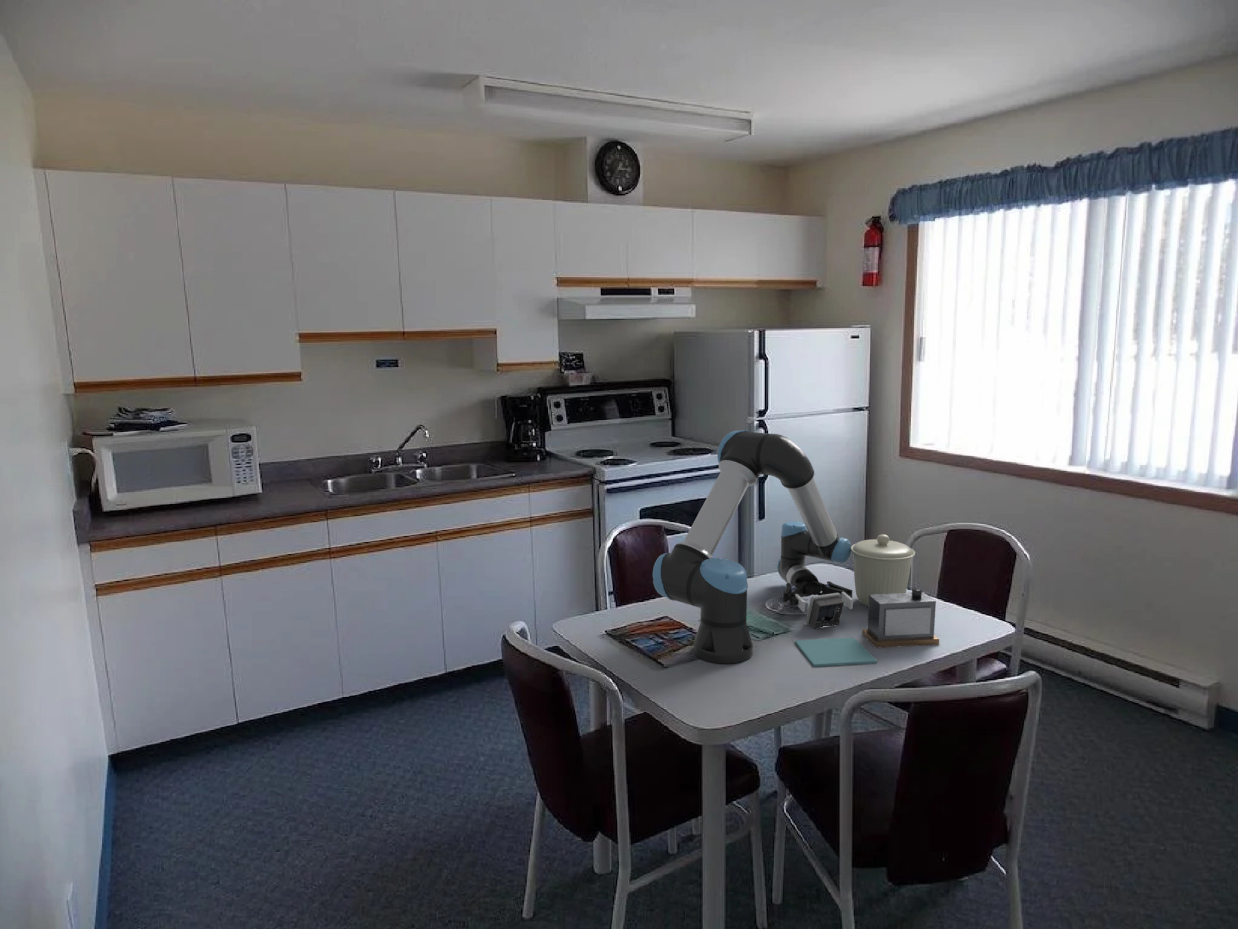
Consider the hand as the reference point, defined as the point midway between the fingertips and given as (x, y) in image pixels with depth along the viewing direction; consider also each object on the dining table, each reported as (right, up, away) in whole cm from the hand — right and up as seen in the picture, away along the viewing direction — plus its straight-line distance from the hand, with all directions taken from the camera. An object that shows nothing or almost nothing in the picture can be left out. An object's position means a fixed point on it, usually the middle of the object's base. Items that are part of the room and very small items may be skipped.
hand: (827, 605), depth 221 cm
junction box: (+17, -7, -9) cm, 20 cm away
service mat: (-3, -9, -17) cm, 19 cm away
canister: (+20, -3, +18) cm, 27 cm away
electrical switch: (0, -6, +1) cm, 6 cm away
